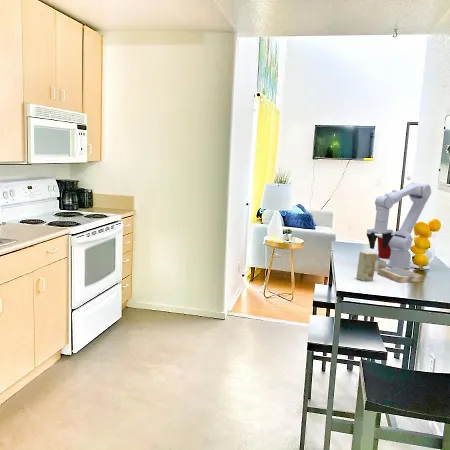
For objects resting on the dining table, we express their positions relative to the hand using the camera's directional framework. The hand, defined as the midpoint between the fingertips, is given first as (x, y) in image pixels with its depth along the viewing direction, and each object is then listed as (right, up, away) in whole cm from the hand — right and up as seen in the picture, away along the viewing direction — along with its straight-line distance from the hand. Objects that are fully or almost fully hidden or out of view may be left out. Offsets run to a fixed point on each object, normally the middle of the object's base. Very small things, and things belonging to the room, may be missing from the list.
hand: (378, 248), depth 218 cm
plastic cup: (+14, -7, +31) cm, 35 cm away
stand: (+6, -13, -12) cm, 18 cm away
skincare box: (-12, -13, -19) cm, 26 cm away
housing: (-1, -10, +2) cm, 11 cm away
